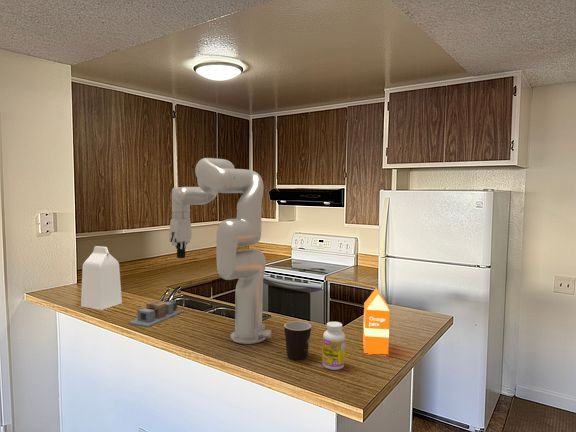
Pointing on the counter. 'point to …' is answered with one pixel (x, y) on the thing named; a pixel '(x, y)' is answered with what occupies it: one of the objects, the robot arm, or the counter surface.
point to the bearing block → (153, 316)
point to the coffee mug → (297, 339)
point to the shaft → (173, 306)
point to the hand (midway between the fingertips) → (181, 257)
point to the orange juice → (376, 324)
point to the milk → (100, 280)
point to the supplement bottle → (333, 346)
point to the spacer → (159, 306)
